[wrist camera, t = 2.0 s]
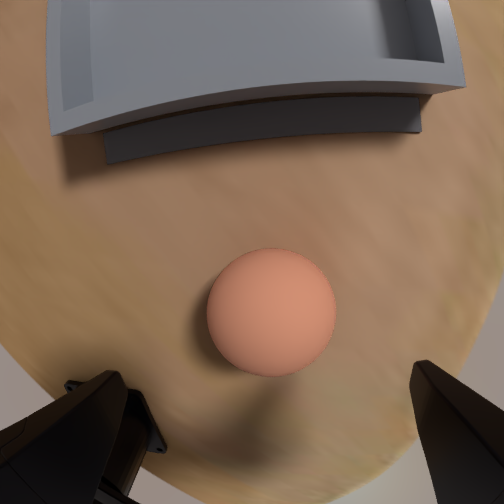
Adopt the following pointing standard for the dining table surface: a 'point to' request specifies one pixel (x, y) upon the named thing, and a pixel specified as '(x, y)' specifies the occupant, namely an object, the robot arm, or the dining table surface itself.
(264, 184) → the dining table surface
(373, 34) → the tray
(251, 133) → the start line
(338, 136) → the dining table surface
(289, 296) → the ball
